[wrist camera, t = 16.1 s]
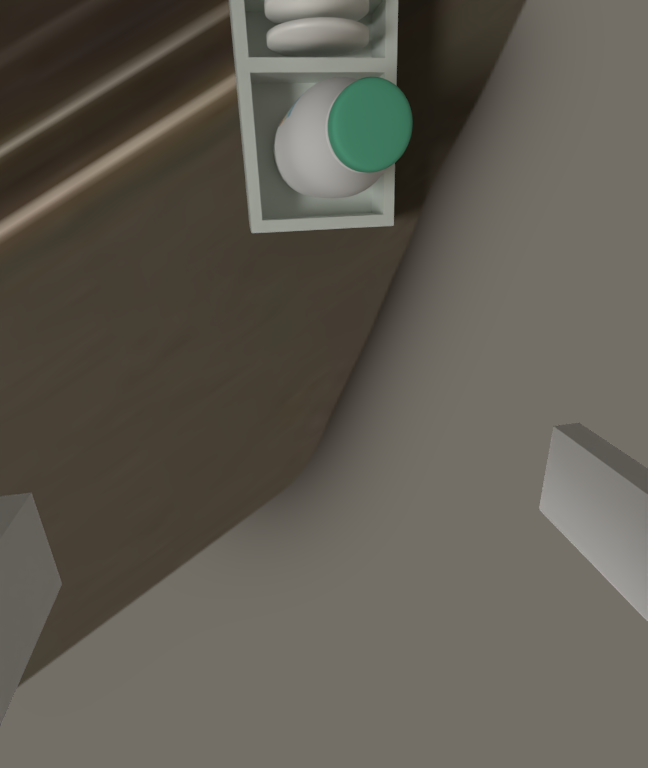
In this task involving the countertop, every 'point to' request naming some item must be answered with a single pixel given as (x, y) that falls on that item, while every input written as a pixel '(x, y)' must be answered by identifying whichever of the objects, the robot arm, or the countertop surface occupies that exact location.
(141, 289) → the countertop surface
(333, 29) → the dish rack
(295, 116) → the milk bottle
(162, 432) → the countertop surface
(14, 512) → the robot arm
